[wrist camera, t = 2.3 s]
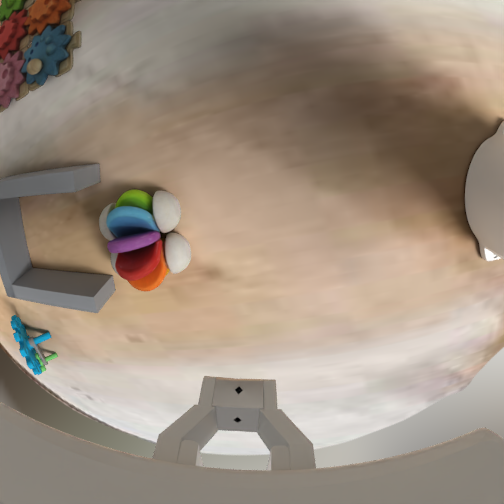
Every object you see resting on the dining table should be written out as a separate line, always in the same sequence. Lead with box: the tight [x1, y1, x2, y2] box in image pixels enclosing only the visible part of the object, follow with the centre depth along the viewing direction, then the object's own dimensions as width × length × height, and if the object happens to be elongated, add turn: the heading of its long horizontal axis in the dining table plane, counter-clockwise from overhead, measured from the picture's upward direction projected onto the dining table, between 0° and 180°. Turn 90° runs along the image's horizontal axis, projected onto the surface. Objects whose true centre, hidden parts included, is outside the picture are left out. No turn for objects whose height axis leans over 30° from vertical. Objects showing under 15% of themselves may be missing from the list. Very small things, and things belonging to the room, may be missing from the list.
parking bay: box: [0, 164, 115, 313], centre depth 27 cm, size 16×15×5 cm
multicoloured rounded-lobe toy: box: [99, 189, 191, 291], centre depth 26 cm, size 8×10×7 cm
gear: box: [11, 315, 58, 375], centre depth 34 cm, size 11×6×10 cm
